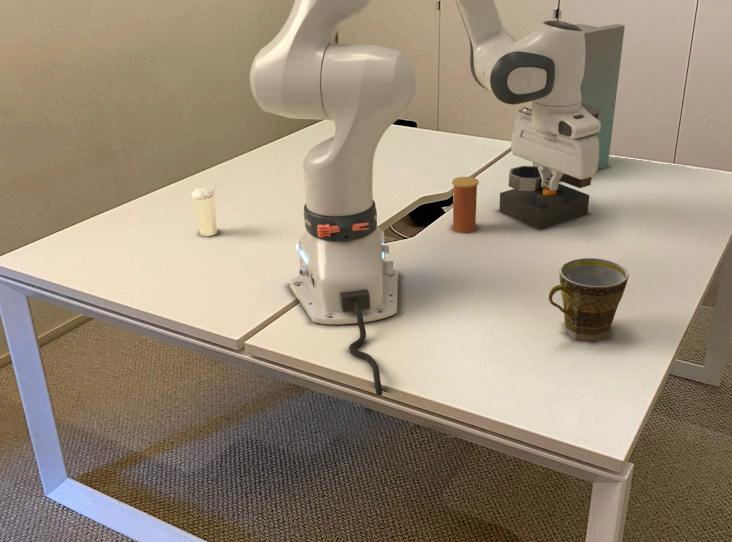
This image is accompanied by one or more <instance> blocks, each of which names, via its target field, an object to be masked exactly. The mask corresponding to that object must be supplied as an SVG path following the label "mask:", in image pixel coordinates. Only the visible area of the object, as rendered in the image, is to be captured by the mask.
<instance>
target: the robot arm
mask: <svg viewBox="0 0 732 542" xmlns="http://www.w3.org/2000/svg"><path fill="white" fill-rule="evenodd" d="M371 2H372V0H294V2H293V6H292V8H291V11H290V13H289V15H288V18H287V19H286V21H285V23H284V25H283V26H282V28H281V29H280V30H279V32H278V33H277V34H276V35H275V36H274V37H273V39H272V40H271V41H270V42H268V43H267V44H266V45H265V46H263V47H262V48H261V49H260V50H259V51H258V52H257V53H256V55H255V57H254V59H253V61H252V63H251V67H250V71H249V86H250V90H251V93H252V96H253V99H254V100H255V102H256V104H257V105H258V106H259V108H261V110H262V111H264V112H266V113H269V114H273V115H277V116H280V117H285V118H289V119H301V120H319V121H321V120H323V121H330V122H334V126H335V132H334V135H333V136H332V137H329V138H327V139H325V140H323V141H321V142H319V143H318V144H316V145H315V146H313V147H312V148H311V149H310V150H309V151H308V152H307V153H306V155H305V157H304V160H303V164H302V170H303V171H302V172H303V173H302V174H303V183H304V197H305V203H304V206H303V221H304V227H305V231H304V233H303V234H302V235H301V236H300V237H299V238H298V240H297V243H296V244H295V247H296V250H297V251H298V252H297V253H298V254H297V255H298V269H299V276H296V277H294V278H293V279H291V280H290V281H289V288H290V289H291V291H292V293H293V294H294V296H295V297H296V299H297V300H298V302H299V303H300V305H301V306H302V307H303V309H304V311H305V313H306V314H307V316H308V317H309V318H310V320H311V321H312V322H313V323H315V324H323V325H352V324H357V325H358V330H359V338H358V339H356V340H355V341H354V342H352V343H351V344H350V345H349V346H348V351H349V352H350V354H352V355H353V356H355V357H357V358H359V359H363V360H365V361H367V363H368V364H369V365H370V367H371V368H372V375H373V383H374V388H375V394H376V395H377V396H382V395H383V387H382V381H381V373H380V368H379V365H378V363H377V361H376V360H375V359H374V357H372V356H371V355H370V354H368V353H366V352H364V351H361V350H358V347H360V346H362V345H363V344H364V343H365V341H366V337H367V331H366V326H365V323H368V322H374V321H378V320H383V319H386V318H389V317H391V316H394V315H396V314H397V313H398V296H399V295H398V294H399V293H398V292H399V275H398V271H397V269H394V261H393V260H386V259H385V258H386V256H385V255H389V253H390V247H389V245H388V244H387V245H385V231H383V230H382V229H381V228H379V227H378V220H377V219H378V210H377V208H376V207H377V205H376V201H375V200H374V190H373V187H374V186H373V183H374V182H373V179H374V177H373V176H374V160H375V155H376V152H377V148H378V145H379V143H380V141H381V139H382V138H383V136H384V134H385V133H386V132H387V130H388V129H389V128H390V127H391V126H392V125H393V124H394V123H395V122H396V121H398V120H399V119H401V118H402V117H403V116H404V115H405V114H406V113H407V111H408V110H409V108H410V107H411V105H412V104H413V102H414V99H415V96H416V91H417V76H416V71H415V68H414V65H413V63H412V61H411V60H410V58H409V57H408V55H407V54H406V53H405V52H404V51H403V50H399V49H396V48H391V47H388V46H384V45H379V44H374V43H339V42H338V43H335V38H336V36H337V34H338V32H339V30H340V29H341V28H342V27H343V26H344V25H345V24H346V23H347V22H349V21H351V20H352V19H355V18H356V17H358V16H360V15H361V14H362V13H364V12H365V11H366V10H367V8H368V7H369V5H371ZM455 3H456V6H457V9H458V11H459V13H460V16H461V19H462V22H463V25H464V27H465V31H466V33H467V36H468V40H469V46H470V47H469V49H470V50H469V51H470V52H469V53H470V54H469V65H470V73H471V76H472V77H473V79H474V82H476V83H477V84H478V86H480V87H481V88H483V89H484V90H486V91H488V93H489V94H491V95H492V96H493V97H494V98H495V99H497V100H498V101H499V102H501V103H503V104H506V105H520V104H525V103H529V102H531V108H529V107H527V106H522V107H521V108H519V109H518V111H517V112H516V115H515V122H514V125H513V129H512V133H511V141H510V150H511V153H512V155H513V156H516V157H518V158H521V159H524V160H527V161H529V162H532V163H533V162H534V163H537V164H538V170H539V173H540V176H541V179H542V183H541V187H543V188H545V189H548V190H550V191H555V190H557V189H558V183H559V182H560V181H559V180H560V179H561V177H562V176H563V174H567V175H569V176H572V177H575V178H577V179H581V180H582V179H586V178H589V177H593V176H594V175H595V174H596V173H597V172H598V171H597V167H598V159H599V140H598V137H597V136H596V135H595V134H596V133H598V132H599V131H600V128H601V123H600V121H599V120H597V119H596V118H595V117H594V116H592V115H591V114H590V113H589V112H588V111H587V110H586V109H585V108H584V107H582V106H581V100H582V98H581V91H580V87H581V82H582V80H583V77H584V69H585V36H584V33H583V32H582V30H581V29H580V28H578V27H577V26H575V24H573V23H570V22H566V21H562V20H561V21H560V20H546V21H543V22H542V23H541V24H540V25H539V26H538V27H537V28H536V29H535V30H533V31H532V32H530V33H529V34H527V35H525V36H524V37H523V38H521V39H518V40H516V39H515V38H514V37H513V36H512V35H511V34H510V33H508V31H507V30H506V29H505V27H504V26H503V23H502V21H501V17H500V13H499V11H498V8H497V6H496V2H495V0H455ZM550 168H551V174H553V176H552V178H551V176H550V171H549V169H550ZM356 348H357V349H356Z"/></svg>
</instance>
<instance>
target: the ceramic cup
mask: <svg viewBox="0 0 732 542" xmlns="http://www.w3.org/2000/svg"><path fill="white" fill-rule="evenodd" d="M629 277H630V274H629V271H628V270H627V269H626V268H625V267H624V266H623V265H622V264H619V263H617V262H615V261H612V260H608V259H603V258H596V257H595V258H594V257H593V258H592V257H584V258H577V259H572V260H569V261H567V262H565V263H563V264H562V265H561V266H560V268H559V284H556V285H554V286H553V287H552V288H551V289H550V291H549V294H548V301H549V303H550V304H551V305H552V306H554V307H555V308H557V309H559V311H560V312H562V313H563V318H564V319H563V320H564V331H565V334H566V335H568V336H569V337H571V338H572V339H574V340H575V341H582V342H583V341H585V342H592V343H593V342H596V341H600V340H602V339H606V338H607V337H608V336H609V334H610V331H611V328H612V324H613V321H614V319H615V315H616V312H617V310H618V307H619V304H620V303H621V300H622V299H623V296H624V293H625V290H626V287H627V284H628V280H629ZM559 291H560V292H561V299H562V306H561V305H559V304H558V303H556V302H554V300H553V296H554V295H555V294H556V293H557V292H559Z"/></svg>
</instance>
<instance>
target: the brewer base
mask: <svg viewBox="0 0 732 542" xmlns="http://www.w3.org/2000/svg"><path fill="white" fill-rule="evenodd" d="M589 203H590V195H589V194H588V193H585V192H582V191H580V190H577V189H575V188H573V187H570V186H567V185H564V184H561V183H559V182H558V189H557V191H556V195H544V194H543V189H540V190H537V191H519V190H517V189H514V188H512V189H508V190H505V191H501V192H499V209H498V211H499V213H501V214H503V215H506V216H507V217H510V218H512V219H514V220H517V221H519V222H522V223H523V224H526V225H528V226H530V227H533V228H535V229H536V230H542V229H545V228H548V227H549V228H550V227H552V226H555V225H558V224H561V223H564V222H567V221H570V220H574V219H576V218H577V219H578V218H580V217H583V216H587V215H588V213H589Z"/></svg>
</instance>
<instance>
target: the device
mask: <svg viewBox="0 0 732 542" xmlns="http://www.w3.org/2000/svg"><path fill="white" fill-rule="evenodd" d="M574 25H575V26H577V27H578V28H580V29H581V30H582V32H583V33H584V36H585V69H584V77H583V80H582V82H581V87H580V91H581V98H582V100H581V103H582V104H586V105H589V106H593V107H596V108H600V113H599V115H598V120H599V121H600V123H601V128H600V131H599V132H598V133H596V136H597V137H598V140H599V159H598V167H597V170H602V169H605V168H609V160H610V152H611V145H612V144H611V143H612V135H613V128H614V127H613V126H614V118H615V112H616V111H615V110H616V104H617V103H616V102H617V95H618V94H617V93H618V86H619V78H620V77H619V76H620V69H621V60H622V54H623V44H624V36H625V27H626V25H625V24H619V23H614V24H608V25H603V26H594V25H588V24H583V23H576V24H574ZM532 166H538V164H537V163H534V162H532ZM550 169H551V168H550ZM550 169H549V171H550Z"/></svg>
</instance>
